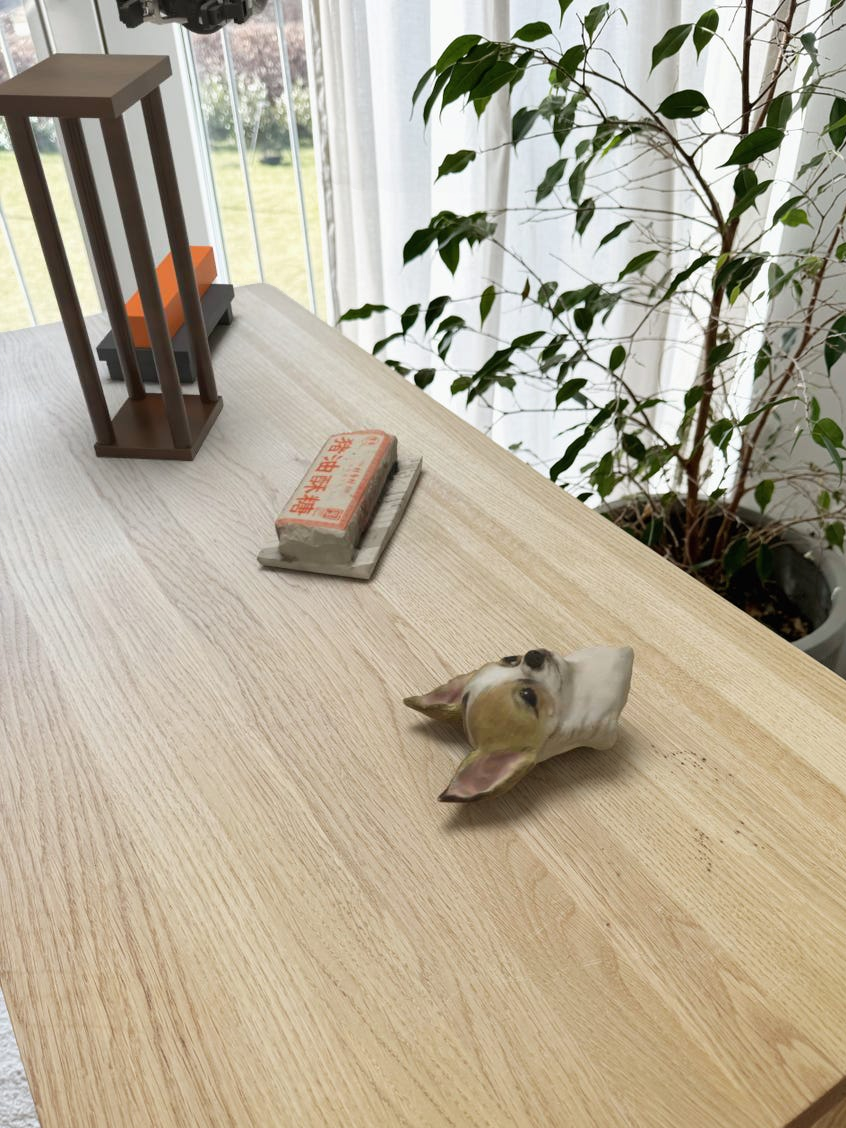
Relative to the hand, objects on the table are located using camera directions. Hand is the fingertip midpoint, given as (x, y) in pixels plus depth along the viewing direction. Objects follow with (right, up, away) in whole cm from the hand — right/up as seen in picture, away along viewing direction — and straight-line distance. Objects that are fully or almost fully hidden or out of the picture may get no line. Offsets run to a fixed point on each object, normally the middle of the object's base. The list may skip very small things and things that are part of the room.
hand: (165, 18), depth 108 cm
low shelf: (-1, -33, +8) cm, 34 cm away
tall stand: (+2, -45, -6) cm, 46 cm away
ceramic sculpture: (+37, -74, -38) cm, 91 cm away
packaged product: (+22, -56, -18) cm, 62 cm away
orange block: (-1, -29, +6) cm, 30 cm away
